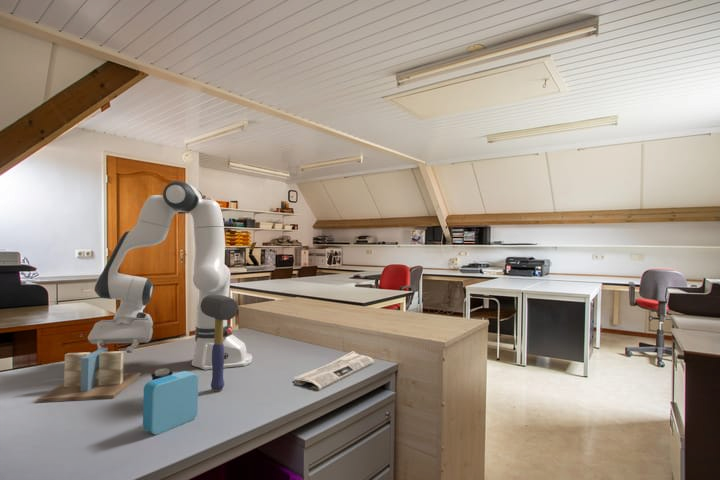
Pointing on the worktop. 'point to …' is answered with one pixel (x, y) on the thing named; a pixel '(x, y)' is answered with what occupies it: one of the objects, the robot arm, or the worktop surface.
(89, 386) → the slotted plate
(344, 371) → the newspaper
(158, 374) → the push button
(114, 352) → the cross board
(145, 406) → the blue carrying case
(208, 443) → the worktop surface
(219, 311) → the rubber mallet
